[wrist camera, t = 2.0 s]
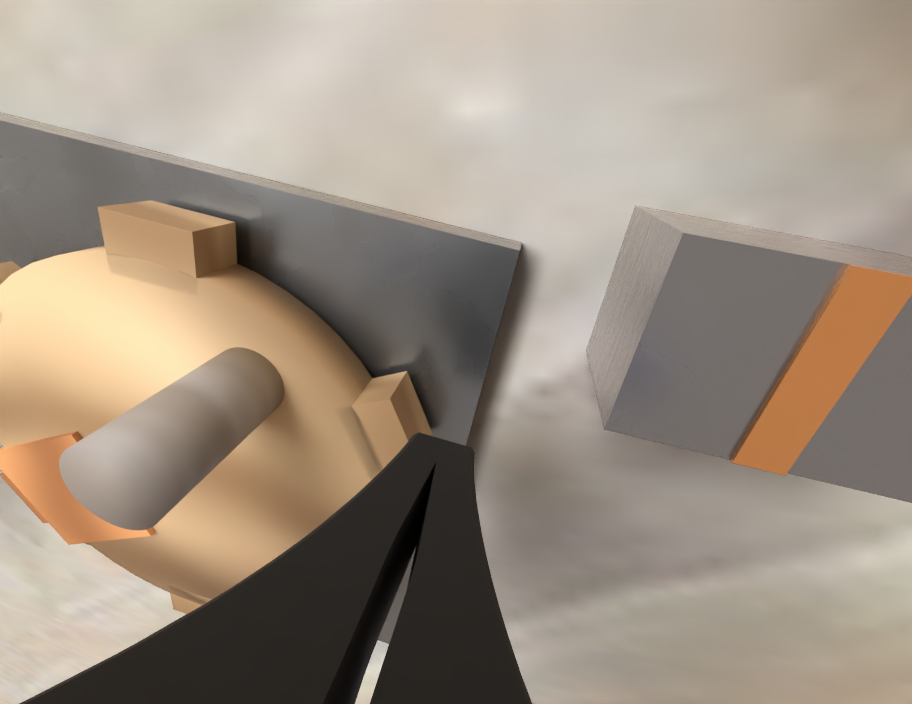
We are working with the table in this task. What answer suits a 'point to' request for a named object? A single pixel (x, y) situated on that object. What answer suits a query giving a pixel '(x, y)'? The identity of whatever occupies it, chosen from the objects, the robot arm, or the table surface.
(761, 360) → the link block
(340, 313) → the plate
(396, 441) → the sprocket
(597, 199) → the table surface
